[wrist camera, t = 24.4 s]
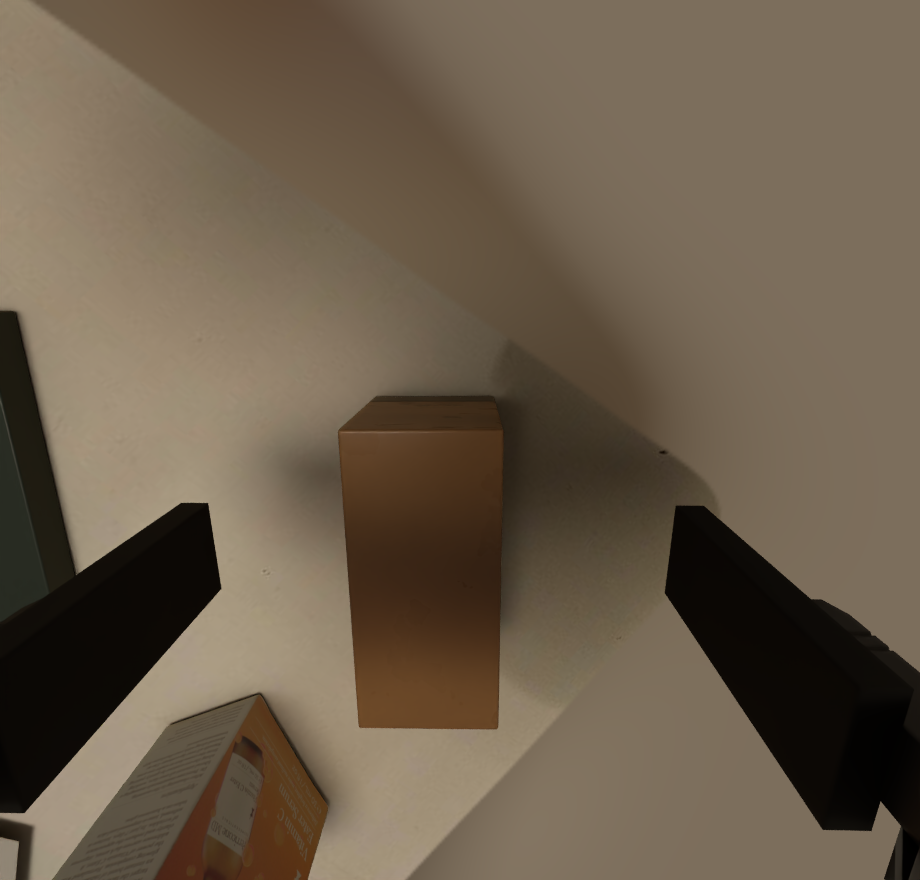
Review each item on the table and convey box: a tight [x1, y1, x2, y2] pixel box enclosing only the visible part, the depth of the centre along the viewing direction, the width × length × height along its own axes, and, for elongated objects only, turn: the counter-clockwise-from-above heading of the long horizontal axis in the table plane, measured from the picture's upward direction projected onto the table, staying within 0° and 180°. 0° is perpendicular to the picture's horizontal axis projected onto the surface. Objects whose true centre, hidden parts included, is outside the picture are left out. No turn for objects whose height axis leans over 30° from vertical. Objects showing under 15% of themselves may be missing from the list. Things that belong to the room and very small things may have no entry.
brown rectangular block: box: [338, 396, 504, 729], centre depth 19 cm, size 11×5×6 cm, turn 0°
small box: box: [52, 695, 328, 880], centre depth 20 cm, size 8×6×10 cm
